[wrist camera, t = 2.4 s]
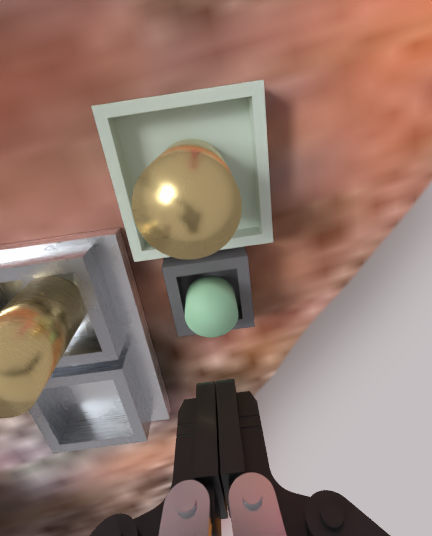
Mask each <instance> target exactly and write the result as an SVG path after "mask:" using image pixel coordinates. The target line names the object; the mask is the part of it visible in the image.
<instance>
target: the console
mask: <svg viewBox="0 0 432 536" xmlns="http://www.w3.org/2000/svg"><path fill="white" fill-rule="evenodd" d="M162 272H163V276H164V280H165V284H166V289H167V293H168V297H169V301H170V305H171V310H172V314H173V318H174V322H175V327H176V331H177V335H178V337H181V336H188V335H196V333H194V332H193V331H192V330H191V329H190V328H189V327H188V325H187V324H186V321H185V304H186V294H187V290H188V288H189V286H190V285H191V284H192V283H193V282H194V281H195V280H197V279H198V278H200V277H203V276H210V275H212V276H219V277H221V278H224V279H225V280H227V281H228V282H229V283H230V284H231V285H232V287H233V289H234V292H235V297H236V303H237V308H238V320H237V323H236V325H235V326H234V327H233V329H240V328H247V327H254V326H255V324H254V314H253V304H252V294H251V284H250V274H249V264H248V255H247V252H246V249H245V246H244V247H237V248H230V249H223V250H218V251H217V252H215V253H213V254H211V255H209V256H206V257H203V258H199V259H190V260H189V259H178V258H174V257H166V258H164V261H163V265H162ZM231 330H232V329H231Z"/></svg>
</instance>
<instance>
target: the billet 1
mask: <svg viewBox="0 0 432 536" xmlns="http://www.w3.org/2000/svg"><path fill="white" fill-rule="evenodd" d="M86 314H87V309H86V307H85V304H84V301H83V299H82V296H81V293H80V291H79V288H78V286H77V285H76V284H74V283H73V282H71V281H69V280H67V279H65V278H62V277H59V276H45V277H38V278H36V279H34V280H32V281H31V282H30V283H29V284H28V285H27V286H25V287H24V288H23V289H22V290H21V291H20V292H19V293H18V294H17V295H16V296H15V297H14V298H13V299H12V300H11V301H10V302H9V303H8V304H7V305H6V306H5V307H4V308H3V309H2V310H1V311H0V418H10V417H15V416H18V415H21V414H23V413H25V412H27V411H28V410H29V409H31V408H32V406H33V405H34V404H35V402H36V400H37V399H38V397H39V395H40V393H41V392H42V390H43V388H44V387H45V385H46V383H47V381H48V380H49V378H50V376H51V375H52V373H53V371H54V369H55V368H56V366H57V364H58V363H59V361H60V359H61V357H62V356H63V354H64V352H65V351H66V349H67V347H68V345H69V344H70V342H71V340H72V339H73V337H74V335H75V333H76V332H77V330H78V328H79V326H80V325H81V323H82V321H83V320H84V318H85V316H86Z"/></svg>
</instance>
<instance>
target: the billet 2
mask: <svg viewBox="0 0 432 536" xmlns="http://www.w3.org/2000/svg"><path fill="white" fill-rule="evenodd" d="M132 213H133V218H134V221H135V224H136V226H137V228H138V230H139V232H140V233H141V235H142V236H143V238H144V239H145V240H146V241H147V242H148V243H149V244H150V245H151V246H152V247H154V248H155V249H156V250H158V251H159V252H161V253H163V254H165V255H168V256H170V257H174V258H178V259H189V260H190V259H199V258H203V257H206V256H209V255H211V254H213V253H215V252H217V251H218V250H220V249H221V248H223V247H224V246H225V245H226V244H227V243H228V242H229V241H230V240H231V238H232V237H233V235H234V234H235V232H236V230H237V228H238V225H239V223H240V219H241V213H242V201H241V195H240V192H239V188H238V186H237V184H236V182H235V180H234V178H233V176H232V174H231V172H230V170H229V168H228V166H227V164H226V163H225V161H224V159H223V157H222V155H221V154H220V153H219V151H218V150H217V149H216V148H215V147H214V146H212V145H211V144H209V143H207V142H205V141H203V140H199V139H183V140H180V141H177V142H175V143H174V144H172V145H171V146H169V147H168V148H167V149H166V150H165V151H164V152H163V153H162V154H160V155H159V156H158V157H157V158H156V159H155V160H154V161H153V162H152V163H151V164H150V165H149V166H148V167H147V168H146V169H145V170H144V171H143V172H142V174H141V175H140V176H139V178H138V180H137V182H136V185H135V187H134V190H133V195H132Z"/></svg>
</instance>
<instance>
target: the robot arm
mask: <svg viewBox="0 0 432 536" xmlns="http://www.w3.org/2000/svg"><path fill="white" fill-rule="evenodd" d="M177 425H178V427H177V438H176V447H175V459H174V471H173V481H172V486H171V489H170V491H169V493H168V495H167V496H166V498H165V499H164V500H163V502H162V503H161V504H160V505H158V506H157V507H156V508H154V509H153V510H151V511H149V512H147V513H145V514H143V515H141V516H139V517H137V518H135V519H132V518H131V517H130V516H128V515H126V514H115V515H112V516H110V517H108V518H106V519H105V520H104V521H102V522H101V523H100V524H99V525H98V526H97V528H96V529H95V530H94V531H93V532H92V534H91V535H90V536H221V519H226V518H228V512H227V506H228V511H229V516H230V518H231V522H232V528H233V536H390V535H389V534H387V533H386V532H385V531H384V530H383V529H382V528H380V527H379V526H378V525H377V524H376V523H374V522H373V521H372V520H371V519H370V518H369V517H367V516H366V515H365V514H364V513H363V512H361V511H360V510H359V509H358V508H357V507H355V506H354V505H353V504H352V503H350V502H349V501H348V500H347V499H346V498H345V497H343V496H342V495H340V494H338V493H336V492H333V491H328V490H323V491H319V492H316V493H315V494H313V495H312V496H311V497H308V496H304V495H300V494H296V493H292V492H290V491H288V490H285V489H284V488H282V487H281V486H280V485H279V484H278V483H277V482H276V481H275V479H274V478H273V476H272V474H271V471H270V468H269V463H268V457H267V452H266V447H265V442H264V437H263V431H262V426H261V421H260V416H259V410H258V405H257V401H256V400H255V398H254V397H253V395H252V394H251V393H250V391H247V392H239V393H236V387H235V380H234V379H228V380H220V381H216V383H215V381H213V382H205V383H198V384H197V386H196V398H193V399H185V400H184V402H183V404H182V406H181V408H180V410H179V412H178V424H177Z"/></svg>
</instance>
